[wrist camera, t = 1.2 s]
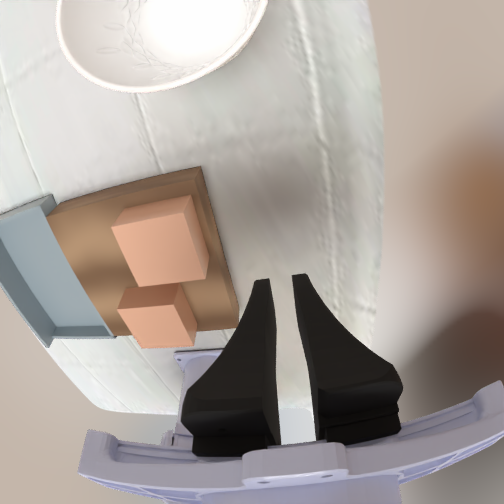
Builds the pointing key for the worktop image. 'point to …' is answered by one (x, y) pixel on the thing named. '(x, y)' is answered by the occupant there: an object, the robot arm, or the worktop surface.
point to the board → (114, 263)
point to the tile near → (162, 242)
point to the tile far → (158, 316)
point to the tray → (44, 278)
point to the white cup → (153, 39)
